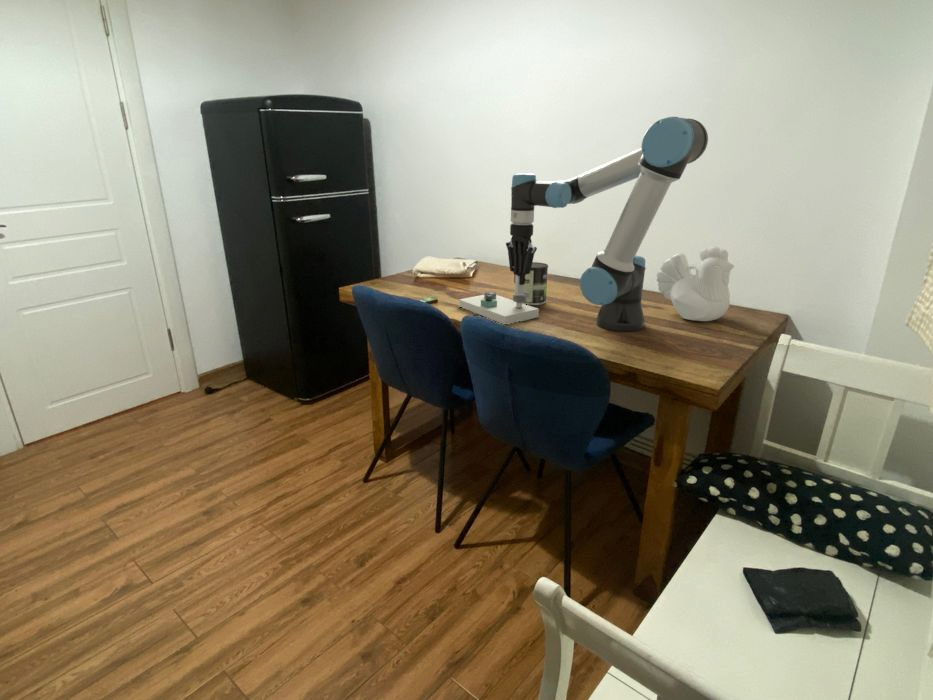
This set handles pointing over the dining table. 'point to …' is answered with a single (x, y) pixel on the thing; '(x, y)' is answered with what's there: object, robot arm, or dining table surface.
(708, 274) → the decorative rooster
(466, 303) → the panel
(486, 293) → the knob far
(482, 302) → the knob
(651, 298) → the dining table surface
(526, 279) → the coffee can
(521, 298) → the knob near
